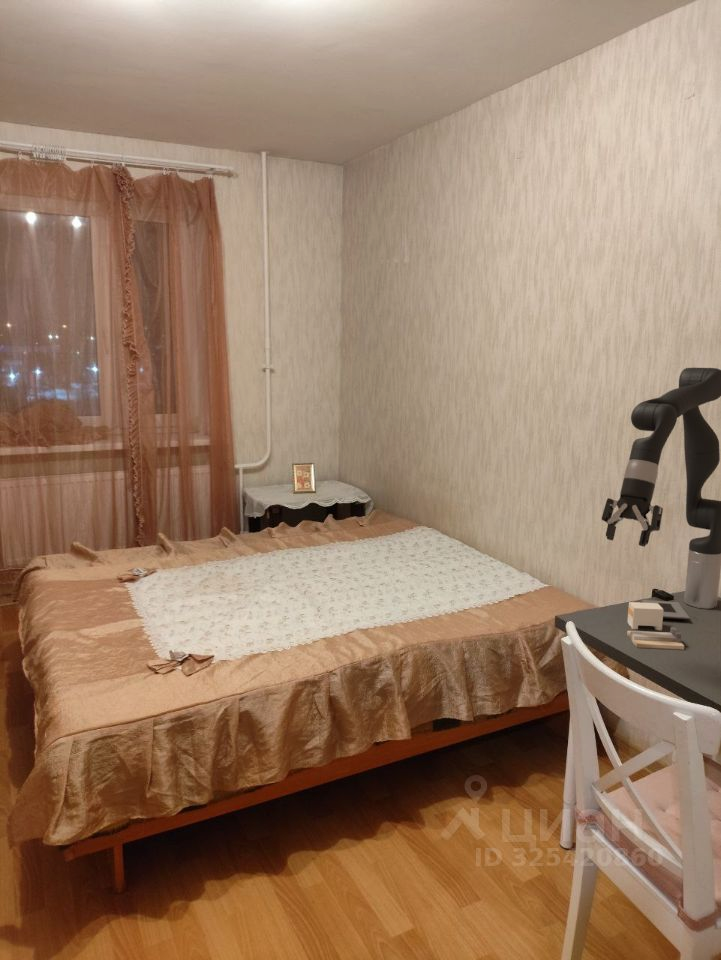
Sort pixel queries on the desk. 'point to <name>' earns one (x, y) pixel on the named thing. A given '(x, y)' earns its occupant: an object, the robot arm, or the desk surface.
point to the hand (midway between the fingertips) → (625, 542)
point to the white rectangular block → (645, 615)
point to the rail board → (657, 639)
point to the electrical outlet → (670, 610)
